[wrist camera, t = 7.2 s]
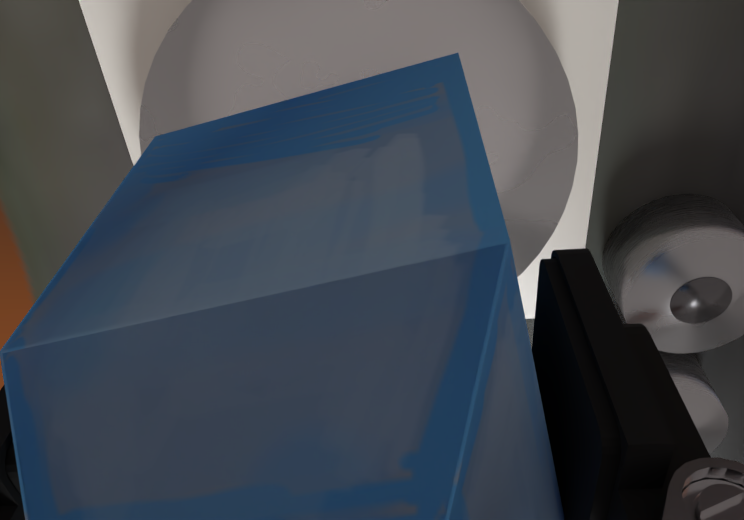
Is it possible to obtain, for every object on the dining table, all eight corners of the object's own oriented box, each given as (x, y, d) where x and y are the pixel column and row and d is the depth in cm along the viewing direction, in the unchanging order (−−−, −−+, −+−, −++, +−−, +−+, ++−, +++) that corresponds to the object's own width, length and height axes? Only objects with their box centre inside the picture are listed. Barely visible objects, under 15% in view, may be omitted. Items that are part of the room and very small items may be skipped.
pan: (595, -94, 13) (606, -90, 13) (552, 310, 20) (558, 327, 19) (88, -50, 14) (73, -42, 13) (204, 325, 20) (198, 342, 20)
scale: (594, -196, 16) (648, -199, 13) (551, 248, 24) (577, 320, 21) (102, -147, 17) (28, -137, 14) (216, 265, 25) (187, 337, 21)
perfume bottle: (268, 353, 16) (81, 1188, 6) (154, 136, 13) (-634, 1226, 3) (511, 304, 15) (734, 1229, 5) (458, 52, 12) (817, 1364, 2)
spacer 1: (755, 189, 22) (800, 236, 20) (722, 298, 25) (758, 352, 23) (610, 197, 23) (637, 244, 20) (594, 304, 26) (616, 357, 23)
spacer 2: (710, 335, 26) (743, 390, 24) (686, 416, 29) (713, 472, 27) (588, 340, 27) (608, 395, 24) (576, 419, 30) (593, 475, 27)
